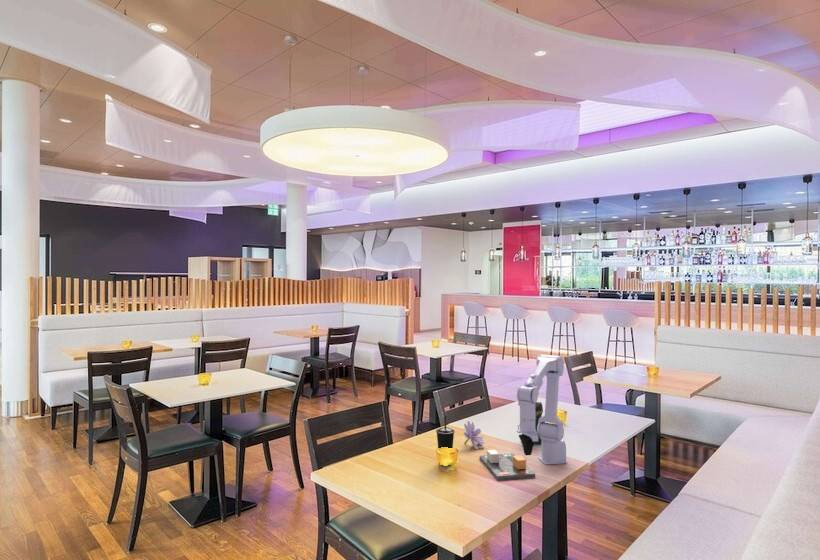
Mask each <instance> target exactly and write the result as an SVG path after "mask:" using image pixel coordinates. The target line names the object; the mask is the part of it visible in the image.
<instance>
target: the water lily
mask: <svg viewBox="0 0 820 560" xmlns="http://www.w3.org/2000/svg"><path fill="white" fill-rule="evenodd" d="M463 425H464V429H465V431H466V432H465V431H464V432H463V435H464V437H465V438H466V440H465V441H464V443H463V444H464V445H466V443H468V441H470V442H471V444H472V446H473V447H474V449H475V450H476V449H479V448H478V445H480V446H482V447H485V445H484V444H485V441H484V440H485V437H483V436H479V435H480V434H481V432H482V430H481V429H480V428H475V427H476V426H475V423H474V421H472V422H470V421H469V420H467V424H466V423H463ZM483 443H484V444H483ZM477 444H478V445H477Z"/></svg>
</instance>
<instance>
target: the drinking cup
mask: <svg viewBox="0 0 820 560" xmlns="http://www.w3.org/2000/svg"><path fill="white" fill-rule="evenodd" d="M443 424H444V426H443V427H440V428H437V429H436V430H435V432H436V440H437V449H438V448H441V447H448V448H453V449H454V438H455V437H454V435H455V429H453V428H451V427H447V414H444V423H443Z"/></svg>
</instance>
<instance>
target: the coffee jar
mask: <svg viewBox="0 0 820 560" xmlns="http://www.w3.org/2000/svg"><path fill="white" fill-rule="evenodd" d="M543 413H544V408H543V404H542V402H539V401H536V403H535V430H536V433H537V426H538V422H539V419H540V418H541V417H542V415H543ZM537 436H538V434H537ZM534 444H542V439H540V437H539V436H538V441H535V443H534Z"/></svg>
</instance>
